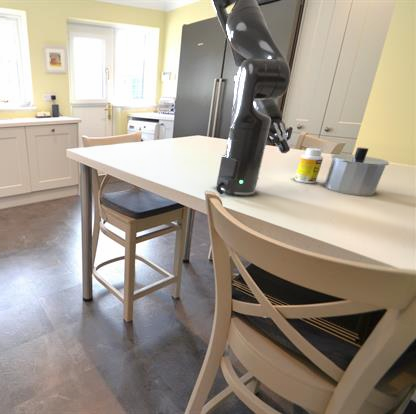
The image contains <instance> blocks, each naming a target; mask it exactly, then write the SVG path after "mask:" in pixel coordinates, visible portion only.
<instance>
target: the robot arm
mask: <svg viewBox="0 0 416 414" xmlns="http://www.w3.org/2000/svg"><path fill="white" fill-rule="evenodd" d="M210 1H211V4H212V7H213V9H214V11H215V14H216V17H217V20H218V22H219V24H220V27H221V29H222V31H223V33H224V35H225V38H226V40H227V43H228V45H229V48H230V51H231V56H232V59H233V63H234V65H235V66H236V67H238V71H237V73H236V74H235V75H234V78H233V82H234V91H233V99H232V108H231V117H230V118H231V119H230V127H229V132H228V137H227V143H226V148H225V153H224V154H222V156H221V159H220V164H219V169H218V176H217V178H216V179H217V180H216V189H215V190H216V192H217V193H218V194H219V195H223V194H224V193H226V194H228V195H231V196H232V195H234V196H252V195H255V194H256V190H257V185H258V180H259V176H260V172H261V167H262V163H263V159H264V154H265V149H266V145H267V142H268V143H270V144H275V145H276V146H277V148H278V151H279V152H280V153H281V154H287V153H289V152H290V150H291V147H290V145H289V143H288V141H289V140H290V139H291V138H292V134H293V127H292V126H289V127H288V126H286V124H285V122H283V113H282V112H281V109H280V107H279V105H278V104H277V103H278V102H277V101H276V99H279V98H281V97H282V96H284V94H285V93H286V92H287V90H288V89H289V87H290V82H291V69H290V64H289V62H288V60H287V59H286V57H285V55H284V54H283V53H282V51H281V50H280V48H279V47H278V45H277V44H276V41H275V40H274V38H273V35H272V33H271V32H270V29H269V27H268V25H267V22H266V19H265V16H264V13H263V12H262V10H261V8H260V6H259V4H258V1H257V0H210ZM231 6H232V8H231V10H230V12H229V13H228V11H227V8H229V7H231Z"/></svg>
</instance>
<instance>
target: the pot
mask: <svg viewBox="0 0 416 414" xmlns="http://www.w3.org/2000/svg"><path fill="white" fill-rule="evenodd" d="M385 169H386V166H371V165H360V164H353V163H347V162H342V161H338V160H335V159H332V158H331V162H330V165H329V169H328V171H327V174H326V178H325V181H324V187H325V188H326V189H329V190H330V191H333V192H334V191H335V192H338V193H342V194H345V195H353V196H360V197H361V196H362V197H365V196H373V195H374V194H375V192H376V191H377V188H378V186H379V183H380V181H381V178H382V177H383V174H384V170H385Z"/></svg>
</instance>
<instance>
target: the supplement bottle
mask: <svg viewBox="0 0 416 414" xmlns="http://www.w3.org/2000/svg"><path fill="white" fill-rule="evenodd" d="M322 153H323V149H321V148H316V147H308V148H306V150H305V154H304V153H303V154H302V155H300V159H299V162H298V167H297V169H296V173H295V177H294V179H295V181H297V182H299V183H303V184H304V183H305V184H315V183H316V182H317V179H318V177H319V173H320V170H321V166H322V163H323V160H324V157H323V156H322Z"/></svg>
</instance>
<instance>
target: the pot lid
mask: <svg viewBox="0 0 416 414" xmlns="http://www.w3.org/2000/svg"><path fill="white" fill-rule="evenodd" d="M368 152H369V148H368V147H361V146H360V147H356V150H355V153H354V154H343V153H342V154H341V153H339V154H332V155H331V160H332V159H335V160H338V161H342V162H347V163H353V164H360V165H371V166H385V167H386V166H389V164H390V162H389V161H388V160H384V159H381V158H377V157H372V156H367V154H368Z"/></svg>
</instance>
